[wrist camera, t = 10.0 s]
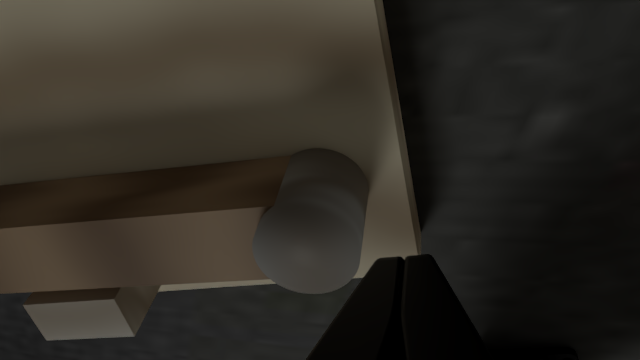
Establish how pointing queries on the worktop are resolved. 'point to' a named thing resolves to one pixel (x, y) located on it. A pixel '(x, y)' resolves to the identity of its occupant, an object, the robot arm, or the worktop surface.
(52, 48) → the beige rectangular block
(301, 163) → the brown square bar
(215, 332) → the worktop surface
